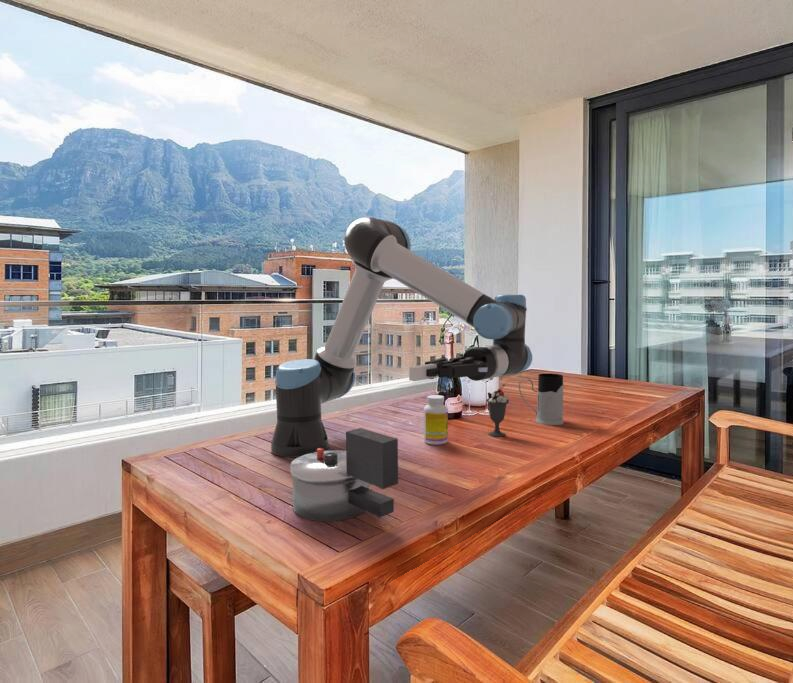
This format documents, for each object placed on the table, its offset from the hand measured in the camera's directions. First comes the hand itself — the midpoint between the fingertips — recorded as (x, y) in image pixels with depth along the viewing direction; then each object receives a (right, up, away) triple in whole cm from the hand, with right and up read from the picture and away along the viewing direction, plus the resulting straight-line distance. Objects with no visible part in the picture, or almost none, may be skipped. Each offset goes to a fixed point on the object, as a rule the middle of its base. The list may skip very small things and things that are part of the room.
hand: (412, 374), depth 101 cm
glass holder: (+43, -19, +63) cm, 79 cm away
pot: (-14, -26, -2) cm, 30 cm away
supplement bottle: (+8, -22, +41) cm, 47 cm away
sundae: (+26, -21, +48) cm, 59 cm away
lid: (-13, -19, -4) cm, 23 cm away
